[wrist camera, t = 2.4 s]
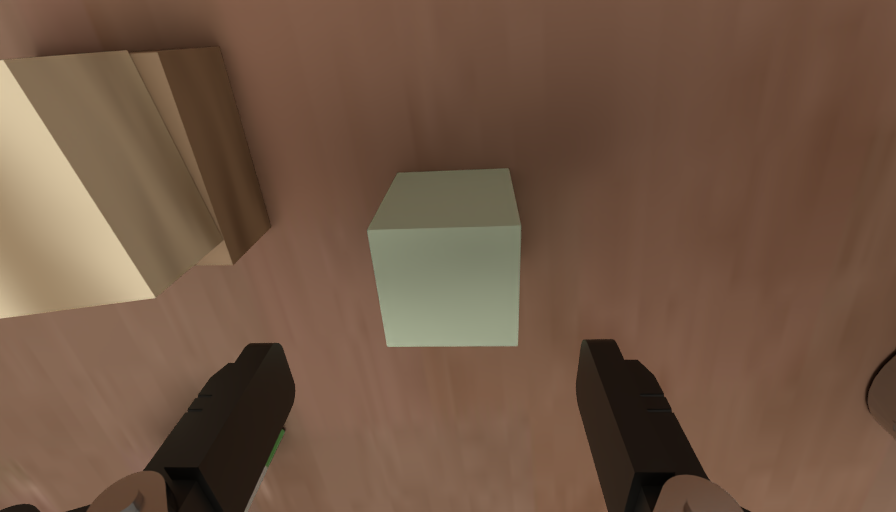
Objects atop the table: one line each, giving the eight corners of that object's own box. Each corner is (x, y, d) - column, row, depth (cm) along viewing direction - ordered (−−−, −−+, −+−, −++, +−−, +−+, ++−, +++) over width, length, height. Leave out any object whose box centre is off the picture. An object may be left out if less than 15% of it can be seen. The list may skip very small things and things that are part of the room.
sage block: (508, 168, 18) (521, 225, 13) (507, 264, 21) (517, 346, 16) (397, 172, 19) (366, 230, 14) (409, 266, 21) (386, 346, 16)
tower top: (126, 50, 13) (2, 59, 10) (223, 240, 17) (155, 297, 13) (-47, 91, 14) (-215, 112, 11) (76, 262, 18) (-23, 321, 14)
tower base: (223, 46, 17) (157, 52, 13) (273, 224, 21) (233, 265, 17) (42, 56, 17) (-66, 64, 14) (124, 227, 21) (56, 267, 18)
